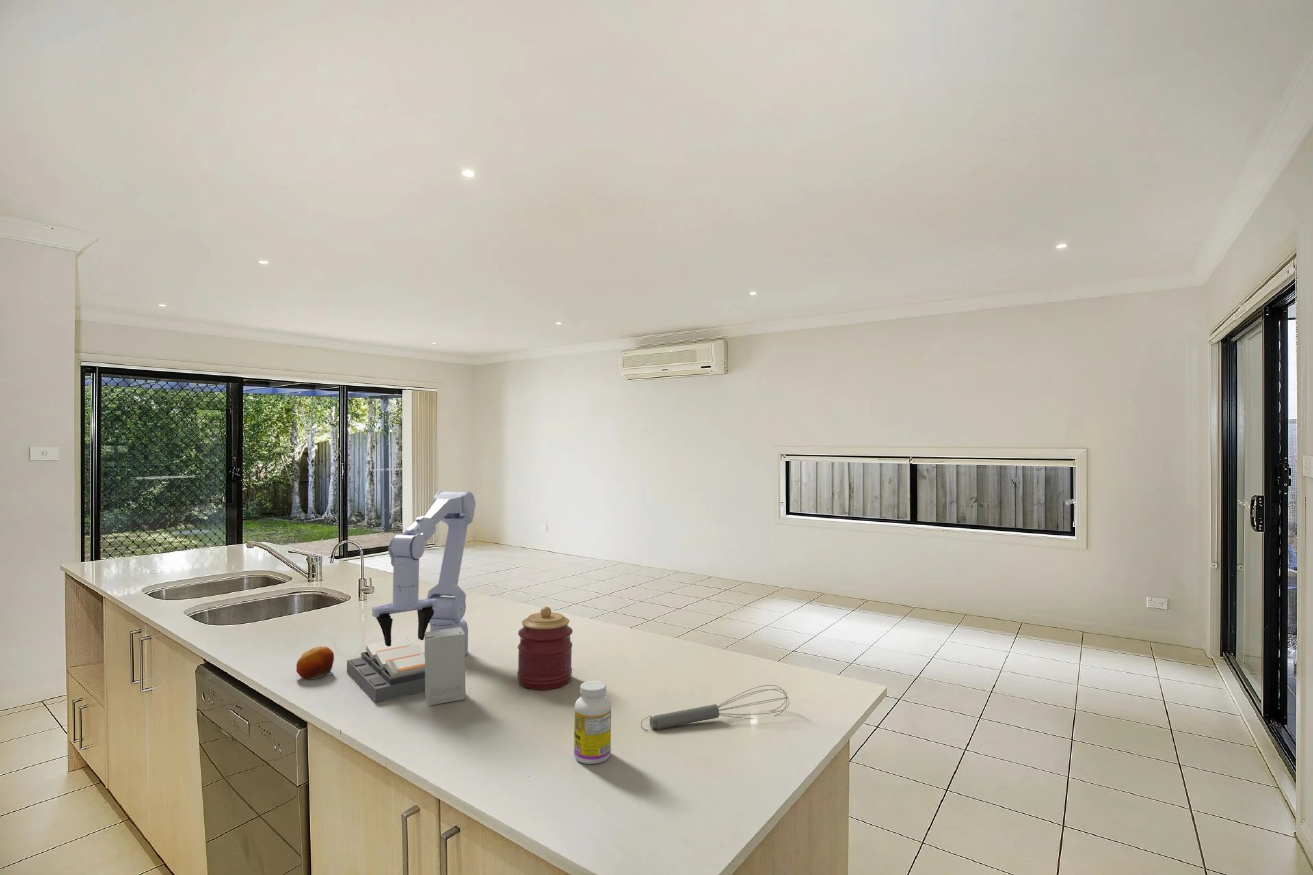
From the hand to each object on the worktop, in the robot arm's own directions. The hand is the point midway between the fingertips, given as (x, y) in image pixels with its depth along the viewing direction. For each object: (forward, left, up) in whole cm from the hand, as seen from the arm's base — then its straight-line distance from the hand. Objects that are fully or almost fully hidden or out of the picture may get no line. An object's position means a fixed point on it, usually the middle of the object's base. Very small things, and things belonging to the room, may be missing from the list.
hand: (404, 642), depth 147 cm
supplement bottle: (-14, +58, -9) cm, 61 cm away
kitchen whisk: (-43, +62, -10) cm, 77 cm away
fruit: (+16, -17, -10) cm, 25 cm away
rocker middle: (0, -3, -5) cm, 5 cm away
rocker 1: (0, -11, -5) cm, 12 cm away
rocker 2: (0, +5, -5) cm, 7 cm away
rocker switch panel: (+1, -5, -9) cm, 10 cm away
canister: (-26, +20, -9) cm, 35 cm away
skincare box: (-3, +16, -9) cm, 19 cm away
